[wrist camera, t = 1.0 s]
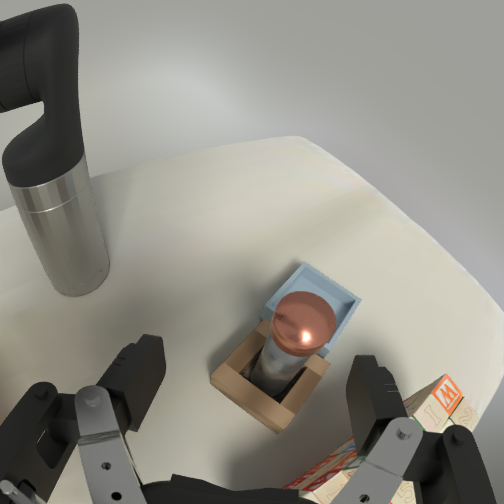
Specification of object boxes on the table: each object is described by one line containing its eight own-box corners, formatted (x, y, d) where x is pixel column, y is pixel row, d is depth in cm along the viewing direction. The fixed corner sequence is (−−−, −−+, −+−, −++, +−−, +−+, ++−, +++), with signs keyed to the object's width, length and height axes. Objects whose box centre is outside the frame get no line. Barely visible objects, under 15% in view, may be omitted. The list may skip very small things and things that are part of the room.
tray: (259, 317, 37) (264, 304, 35) (298, 275, 42) (304, 261, 40) (320, 361, 34) (330, 350, 32) (352, 311, 39) (361, 299, 37)
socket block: (210, 383, 30) (211, 374, 28) (260, 330, 35) (264, 318, 33) (277, 433, 27) (284, 429, 25) (321, 373, 33) (330, 364, 30)
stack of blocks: (262, 557, 17) (298, 596, 8) (227, 515, 20) (244, 539, 11) (409, 444, 27) (482, 416, 18) (383, 410, 30) (448, 370, 21)
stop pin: (239, 382, 31) (262, 319, 21) (263, 354, 33) (297, 281, 23) (272, 407, 29) (317, 358, 19) (296, 377, 32) (346, 313, 22)
